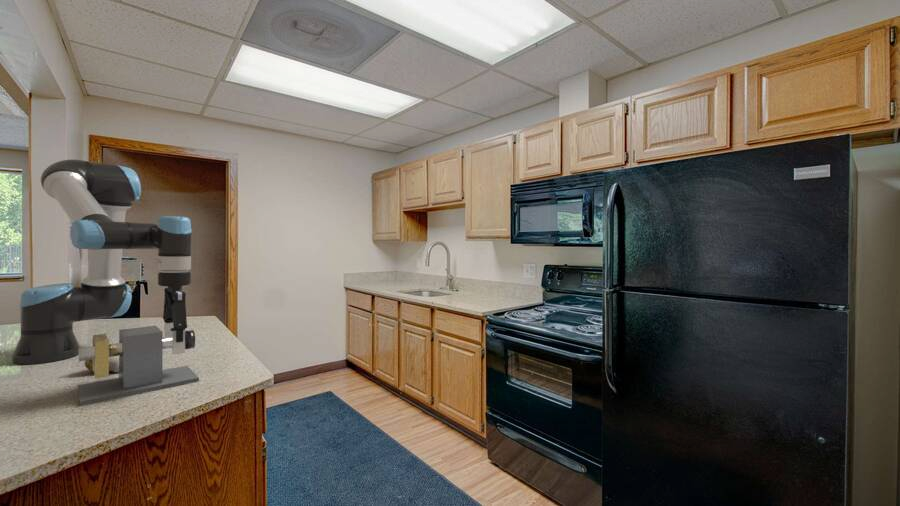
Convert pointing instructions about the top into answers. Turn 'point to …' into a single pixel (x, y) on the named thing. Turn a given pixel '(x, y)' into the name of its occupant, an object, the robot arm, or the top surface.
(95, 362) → the block
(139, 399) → the top surface
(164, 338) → the shaft
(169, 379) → the mat
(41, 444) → the top surface
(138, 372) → the bearing block
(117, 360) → the mug
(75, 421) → the top surface
